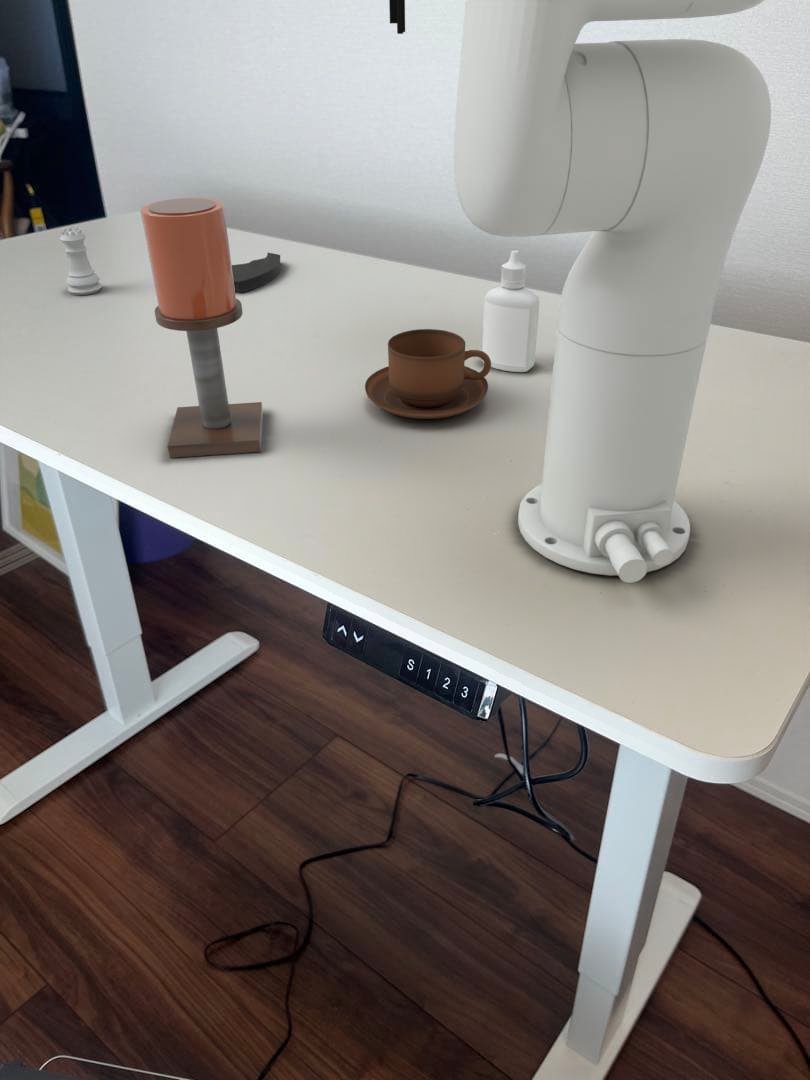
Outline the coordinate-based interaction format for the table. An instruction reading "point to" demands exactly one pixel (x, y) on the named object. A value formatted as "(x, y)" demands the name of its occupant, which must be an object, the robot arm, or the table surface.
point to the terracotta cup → (190, 257)
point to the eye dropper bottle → (511, 320)
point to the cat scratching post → (211, 397)
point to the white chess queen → (79, 264)
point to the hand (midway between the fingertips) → (451, 32)
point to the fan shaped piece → (256, 272)
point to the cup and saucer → (428, 376)
